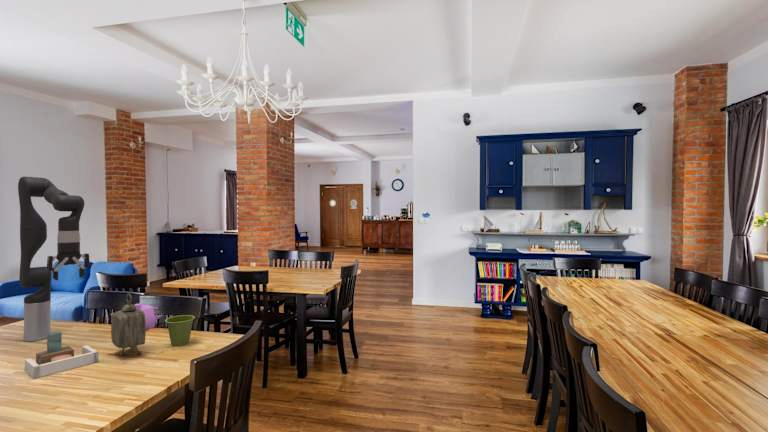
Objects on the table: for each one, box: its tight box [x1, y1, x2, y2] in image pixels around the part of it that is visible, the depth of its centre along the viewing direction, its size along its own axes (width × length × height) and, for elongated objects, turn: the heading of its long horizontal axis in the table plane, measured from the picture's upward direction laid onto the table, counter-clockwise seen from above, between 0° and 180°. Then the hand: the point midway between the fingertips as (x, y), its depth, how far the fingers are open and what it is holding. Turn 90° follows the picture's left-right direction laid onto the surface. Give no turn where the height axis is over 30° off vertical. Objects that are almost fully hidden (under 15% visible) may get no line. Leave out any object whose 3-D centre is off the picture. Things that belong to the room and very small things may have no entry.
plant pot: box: [164, 314, 196, 347], centre depth 172 cm, size 12×12×11 cm
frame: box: [24, 345, 100, 379], centre depth 146 cm, size 12×19×4 cm, turn 145°
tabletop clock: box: [110, 292, 147, 356], centre depth 159 cm, size 14×9×25 cm, turn 47°
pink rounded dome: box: [51, 355, 72, 362], centre depth 147 cm, size 6×6×3 cm
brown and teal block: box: [35, 330, 75, 365], centre depth 151 cm, size 7×10×11 cm
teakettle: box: [110, 303, 162, 330], centre depth 195 cm, size 17×17×12 cm
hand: (68, 278), depth 165 cm, fingers open, 8 cm apart
